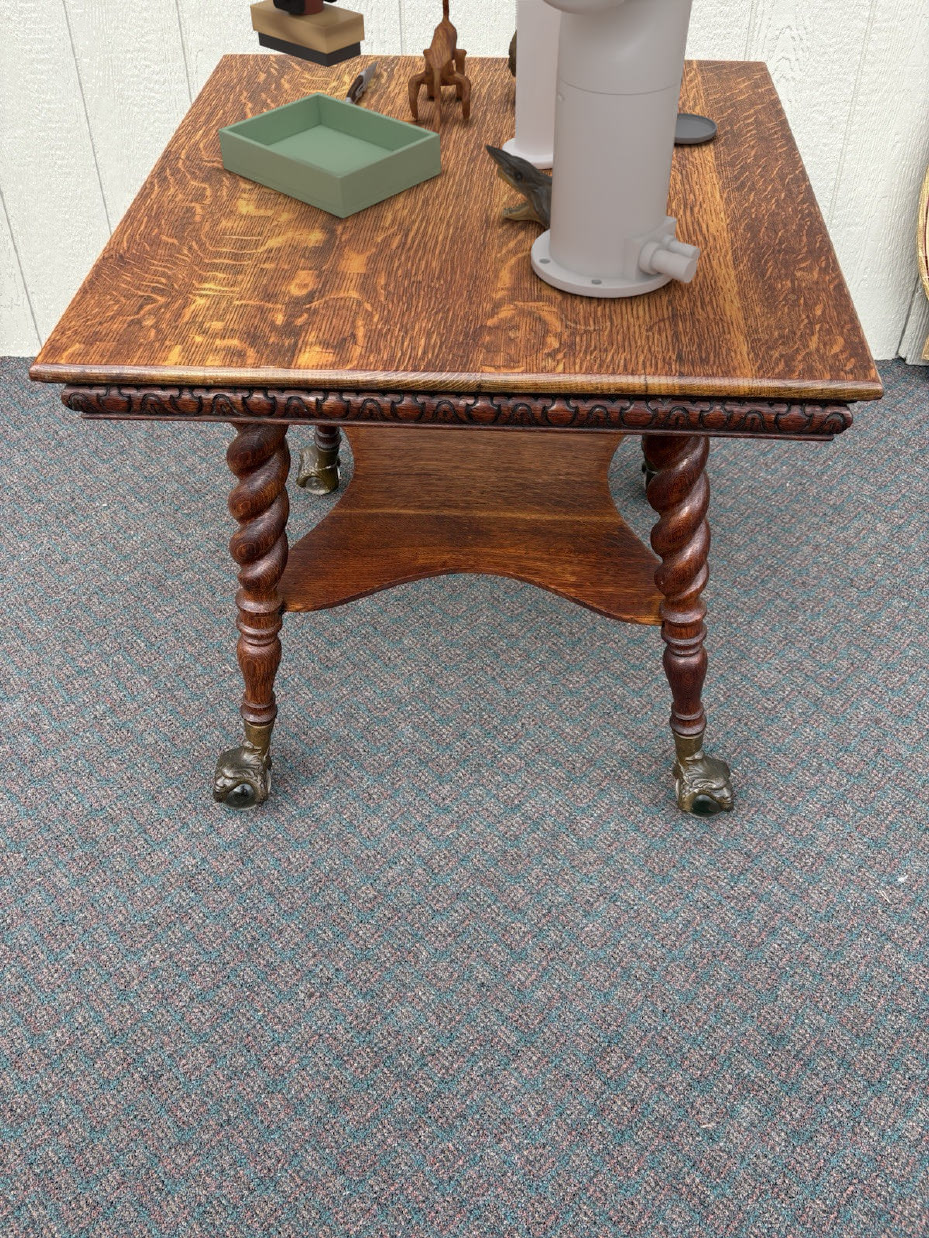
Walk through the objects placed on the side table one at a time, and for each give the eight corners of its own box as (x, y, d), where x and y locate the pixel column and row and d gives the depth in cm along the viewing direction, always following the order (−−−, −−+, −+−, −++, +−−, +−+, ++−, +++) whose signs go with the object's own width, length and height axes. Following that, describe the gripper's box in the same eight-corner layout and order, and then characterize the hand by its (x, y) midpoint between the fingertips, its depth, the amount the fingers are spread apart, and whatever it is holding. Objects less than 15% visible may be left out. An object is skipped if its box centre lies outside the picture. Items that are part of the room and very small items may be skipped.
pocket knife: (351, 115, 123) (349, 95, 121) (343, 114, 123) (341, 95, 121) (382, 71, 132) (381, 53, 131) (374, 70, 132) (373, 52, 131)
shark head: (480, 235, 102) (480, 159, 97) (489, 204, 106) (490, 130, 102) (569, 240, 101) (573, 164, 96) (575, 208, 105) (579, 134, 101)
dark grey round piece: (714, 150, 115) (729, 43, 108) (630, 144, 116) (639, 39, 109) (717, 119, 120) (732, 16, 113) (638, 114, 122) (647, 12, 115)
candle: (561, 174, 111) (575, -127, 94) (492, 165, 113) (494, -132, 95) (580, 146, 116) (597, -145, 98) (513, 138, 117) (518, -150, 100)
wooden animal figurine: (466, 152, 115) (465, 4, 105) (401, 151, 115) (394, 3, 106) (478, 88, 128) (477, -50, 118) (419, 87, 128) (414, -50, 119)
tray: (441, 173, 111) (440, 134, 109) (343, 219, 105) (339, 178, 102) (321, 129, 120) (318, 91, 117) (223, 168, 113) (217, 129, 110)
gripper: (228, -256, 75) (263, 40, 88) (396, -282, 84) (406, -9, 97) (156, -267, 79) (200, 20, 92) (325, -291, 88) (343, -26, 101)
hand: (305, 2), depth 94 cm, fingers closed on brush, 3 cm apart
